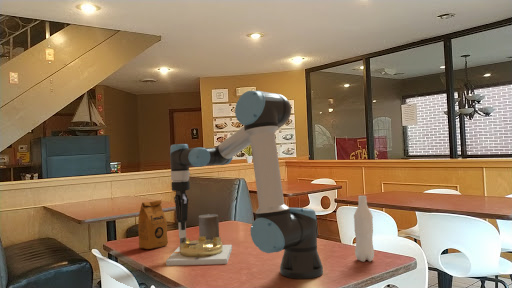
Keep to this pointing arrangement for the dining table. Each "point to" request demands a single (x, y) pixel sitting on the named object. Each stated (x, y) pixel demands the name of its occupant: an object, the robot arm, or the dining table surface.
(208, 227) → the pillar candle
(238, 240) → the dining table surface
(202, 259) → the mount plate
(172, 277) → the dining table surface
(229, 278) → the dining table surface
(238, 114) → the robot arm
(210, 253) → the gold round notched piece
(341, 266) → the dining table surface
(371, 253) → the water bottle
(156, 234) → the coffee package
